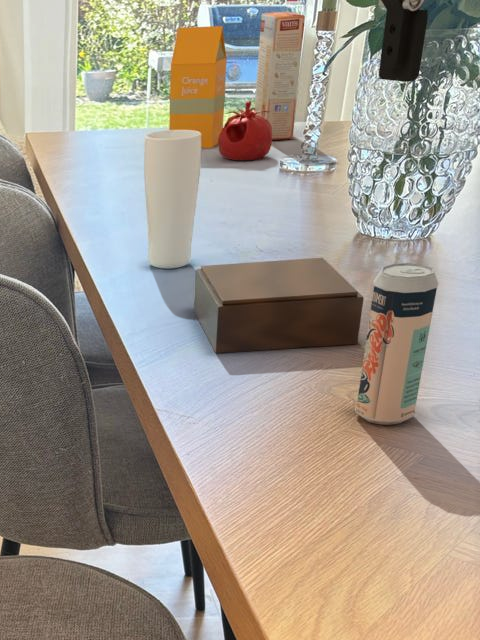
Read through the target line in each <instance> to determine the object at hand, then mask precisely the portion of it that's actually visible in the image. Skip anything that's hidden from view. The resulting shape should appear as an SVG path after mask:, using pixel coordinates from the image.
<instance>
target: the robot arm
mask: <svg viewBox="0 0 480 640" xmlns="http://www.w3.org/2000/svg"><path fill="white" fill-rule="evenodd" d="M424 2H425V0H378V6H379V9H380V10H382V11H386V13H385V14H386V15H385V22H384V29H383V37H382V45H381V53H380V61H379V66H378V67H379V68H378V77H379V79H380V80H385V81H394V82H404V83H405V82H406V83H408V82H414V81H416V80H417V79H418V78H419V76H420V69H421V66H422V65H421V64H422V57H423V51H424V44H425V37H426V32H427V27H428V26H427V25H428V18H429V14H428V12H429V9H420V7H421V6H422V4H423V3H424Z"/></svg>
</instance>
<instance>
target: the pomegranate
mask: <svg viewBox="0 0 480 640" xmlns="http://www.w3.org/2000/svg"><path fill="white" fill-rule="evenodd" d="M251 106H252V100H248V101H246V102H245V109H241V108H240V109H238V110H237V111H235V110H233V111H229V112H225V115H226V114H235V115H232V116H229V117H228V118H227V120H226V121H225V123H224V124H223V129H222V131H221V133H220V135H219V137H218V144H217V146H218V151H219V153H220V155H221V156H222V157H223V158H225V159H228V160H232V161H255V160H258V159H262V158H264V157H266V156H267V155H268V153H269V152H270V151H271V147H272V142H273V140H272V127H271V124H270V122H269V121H268V120H266V119H265V118H264V117H262V116H259V115H256V114H258V113H261V112H270V111H264V110H263V111H260V112H254V110H255V108H254V107H251ZM239 112H240V113H239Z"/></svg>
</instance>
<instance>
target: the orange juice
mask: <svg viewBox="0 0 480 640" xmlns="http://www.w3.org/2000/svg"><path fill="white" fill-rule="evenodd" d="M224 34H225V33H224V26H223V25H215V26H211V25H210V26H190V27H189V26H188V27H178V29H177V32H176V37H175V43H174V48H173V53H172V56H171V57H172V58H171V63H170V85H169V86H170V87H169V88H170V89H169V90H170V91H169V110H168V111H169V112H168V113H169V125H168V126H169V127H168V130H193V131H198V132H200V133H201V149H212V148H214V147H215V146H218V137H219V135H220V133H221V131H222V129H223V128H224V118H225V117H224V114H225V102H226V81H227V80H226V79H227V62H228V61H227V60H228V59H227V58H228V57H227V53H226V51H227V50H226V43H225V35H224Z"/></svg>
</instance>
